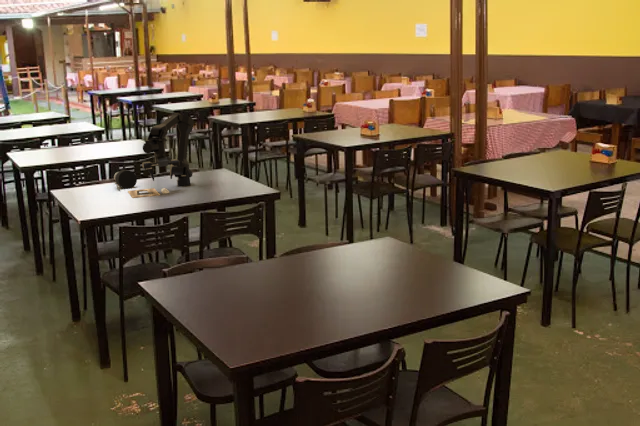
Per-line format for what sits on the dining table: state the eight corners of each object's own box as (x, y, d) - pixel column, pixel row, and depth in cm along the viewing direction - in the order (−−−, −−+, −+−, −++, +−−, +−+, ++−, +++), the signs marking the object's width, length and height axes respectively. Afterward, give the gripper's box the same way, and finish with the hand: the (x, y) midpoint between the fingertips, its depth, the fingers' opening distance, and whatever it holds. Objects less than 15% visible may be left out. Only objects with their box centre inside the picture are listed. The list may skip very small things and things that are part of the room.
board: (154, 191, 378) (153, 184, 377) (160, 197, 362) (159, 190, 361) (128, 194, 373) (127, 186, 372) (132, 200, 356) (132, 192, 356)
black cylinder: (122, 187, 417) (128, 171, 417) (133, 191, 386) (139, 174, 387) (106, 181, 412) (112, 165, 413) (115, 184, 382) (122, 167, 382)
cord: (164, 194, 373) (168, 190, 373) (167, 197, 367) (170, 192, 367) (159, 191, 372) (163, 186, 372) (162, 193, 365) (165, 189, 365)
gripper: (144, 154, 353) (147, 184, 357) (180, 151, 360) (183, 180, 363) (140, 151, 363) (143, 180, 367) (176, 148, 370) (178, 177, 373)
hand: (162, 179), depth 367 cm, fingers open, 9 cm apart
